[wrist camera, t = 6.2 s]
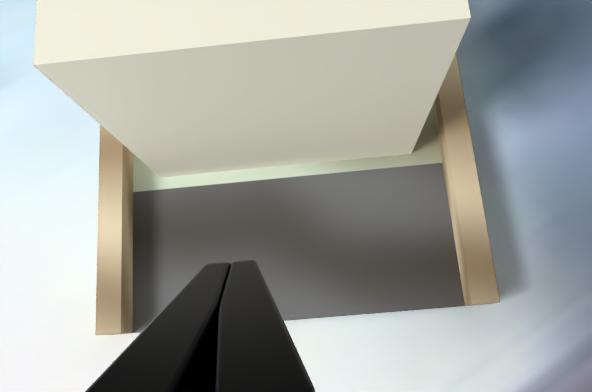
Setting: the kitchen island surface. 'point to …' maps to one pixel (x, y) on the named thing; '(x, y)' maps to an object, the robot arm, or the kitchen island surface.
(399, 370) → the kitchen island surface
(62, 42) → the block
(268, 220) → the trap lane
